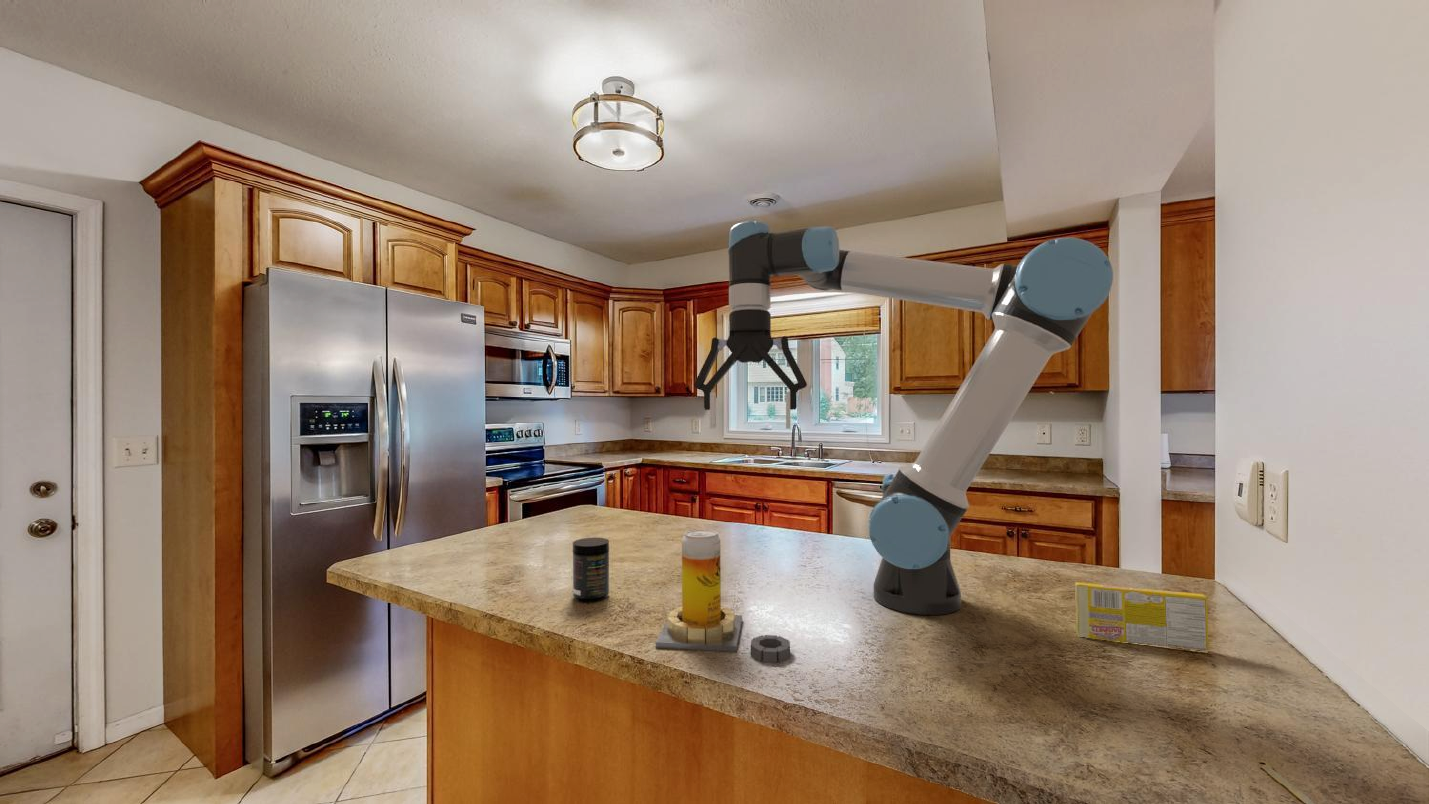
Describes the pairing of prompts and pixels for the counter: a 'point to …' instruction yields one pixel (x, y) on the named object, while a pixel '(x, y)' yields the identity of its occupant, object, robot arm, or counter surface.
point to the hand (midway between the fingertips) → (750, 428)
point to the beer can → (701, 577)
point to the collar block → (701, 633)
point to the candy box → (1142, 616)
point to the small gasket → (770, 648)
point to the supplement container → (590, 569)
